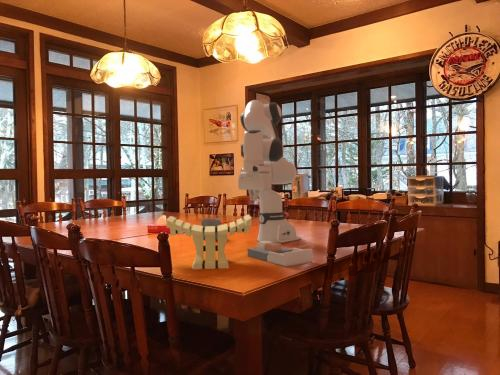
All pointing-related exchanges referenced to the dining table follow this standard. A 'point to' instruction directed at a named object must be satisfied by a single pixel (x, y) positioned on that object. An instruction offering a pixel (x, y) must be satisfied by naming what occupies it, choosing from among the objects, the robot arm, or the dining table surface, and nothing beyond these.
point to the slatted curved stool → (209, 240)
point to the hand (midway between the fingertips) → (254, 200)
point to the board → (263, 252)
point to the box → (290, 257)
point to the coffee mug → (211, 222)
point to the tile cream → (263, 244)
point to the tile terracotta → (273, 247)
